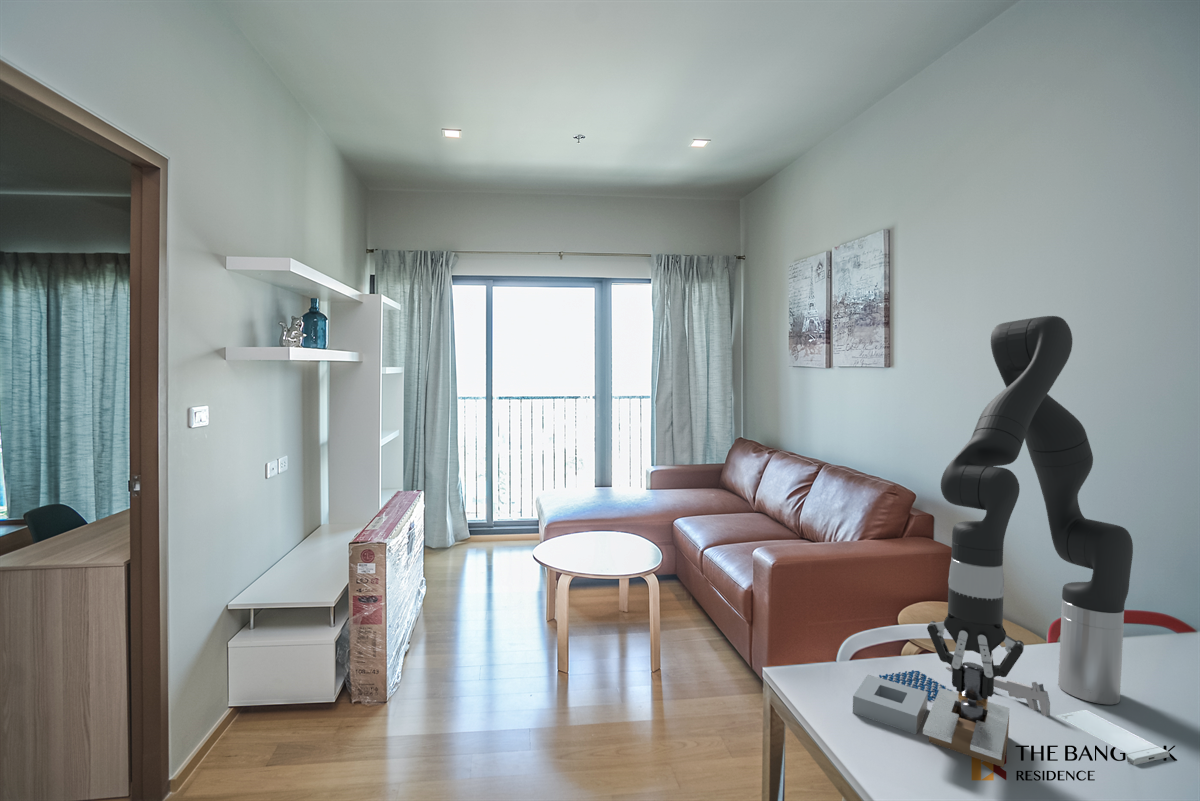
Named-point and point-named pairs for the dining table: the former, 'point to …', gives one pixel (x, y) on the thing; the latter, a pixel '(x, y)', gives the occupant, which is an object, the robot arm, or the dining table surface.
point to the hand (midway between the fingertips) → (972, 692)
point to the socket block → (969, 740)
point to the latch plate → (985, 735)
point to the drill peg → (972, 691)
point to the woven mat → (916, 682)
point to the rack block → (890, 703)
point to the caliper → (1025, 693)
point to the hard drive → (1116, 737)
